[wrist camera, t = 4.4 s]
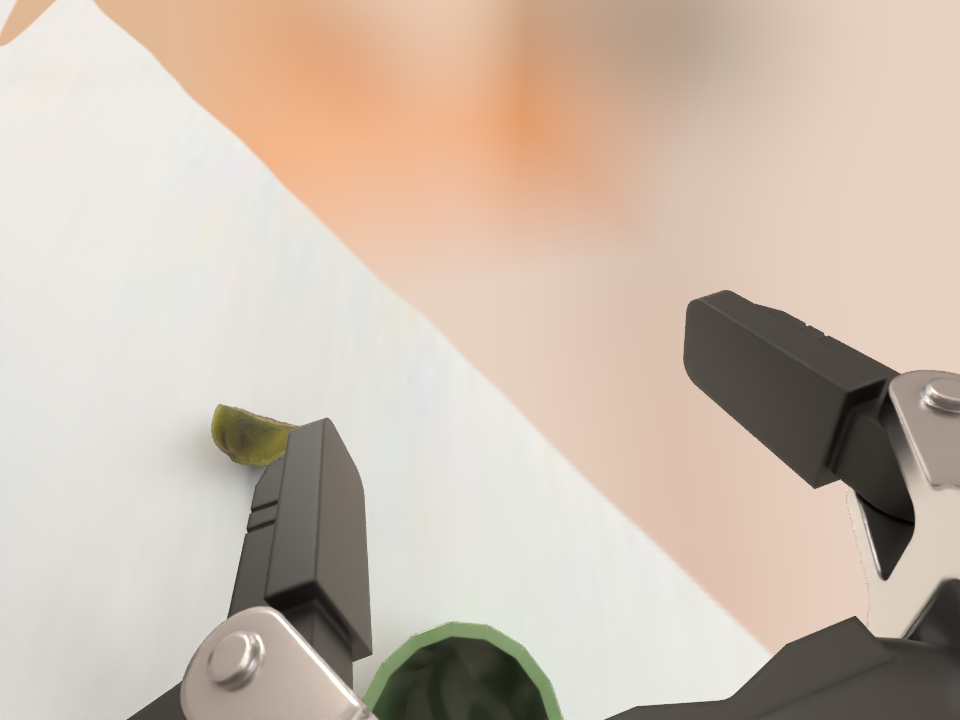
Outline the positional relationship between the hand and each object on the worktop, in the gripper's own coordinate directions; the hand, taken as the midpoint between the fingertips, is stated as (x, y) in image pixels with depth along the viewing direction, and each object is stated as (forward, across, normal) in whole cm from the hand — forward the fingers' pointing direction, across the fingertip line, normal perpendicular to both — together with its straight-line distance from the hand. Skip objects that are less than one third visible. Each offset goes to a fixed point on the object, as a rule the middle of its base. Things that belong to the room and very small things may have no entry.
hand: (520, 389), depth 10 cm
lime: (+17, +13, +12) cm, 25 cm away
